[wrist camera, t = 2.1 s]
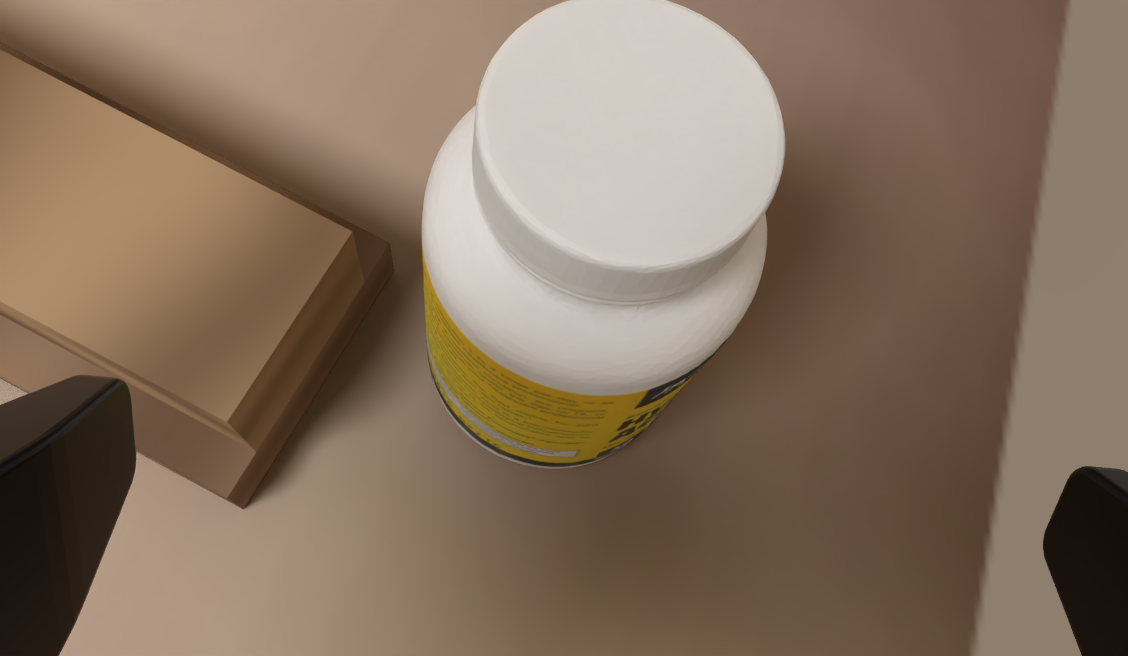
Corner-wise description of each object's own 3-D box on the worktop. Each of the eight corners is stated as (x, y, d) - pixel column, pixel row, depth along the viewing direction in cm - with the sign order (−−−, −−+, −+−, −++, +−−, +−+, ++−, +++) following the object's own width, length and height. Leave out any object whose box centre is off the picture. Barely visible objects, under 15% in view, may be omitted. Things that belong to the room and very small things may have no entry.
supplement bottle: (612, 517, 20) (748, 404, 11) (383, 405, 20) (325, 199, 11) (707, 304, 22) (893, 51, 13) (496, 203, 22) (528, -118, 13)
